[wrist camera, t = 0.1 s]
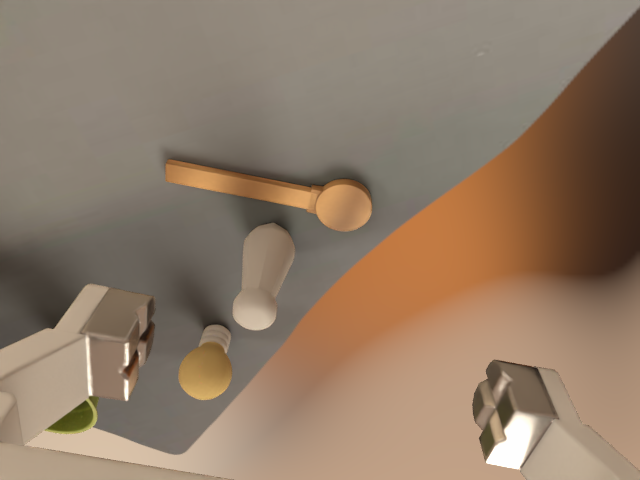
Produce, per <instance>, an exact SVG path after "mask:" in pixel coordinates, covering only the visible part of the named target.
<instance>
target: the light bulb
mask: <svg viewBox="0 0 640 480" xmlns="http://www.w3.org/2000/svg"><path fill="white" fill-rule="evenodd" d="M230 339H231V334H230V332H229V330H228V329H226V328H225V327H223V326H221V325H210V326H207V327H206V328H205V329H204V331H203V335H202V337H201V341H200V343H199V347H198V348H196V349H194V350H192V351H191V352H190V353H189V354H188V355H187V356H186V357H185V358H184V360H183V361H182V363H181V365H180V369H179V382H180V385H181V386H182V388H183V389H184V390H185V391H186V392H187V393H188V394H189V395H190V396H192V397H194V398H196V399H200V400H208V399H212V398H215V397H217V396H219V395H220V394H222V393H223V392H224V391H225V390H226V388H227V387H228V385H229V383H230V381H231V377H232V367H231V363H230V360H229V358H228V356H227V355H226V353H227V351H228V346H229V343H230Z"/></svg>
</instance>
